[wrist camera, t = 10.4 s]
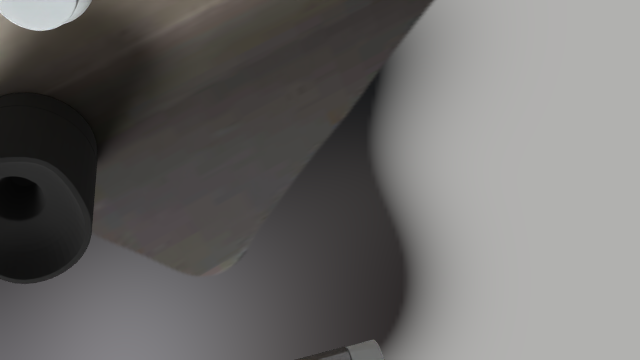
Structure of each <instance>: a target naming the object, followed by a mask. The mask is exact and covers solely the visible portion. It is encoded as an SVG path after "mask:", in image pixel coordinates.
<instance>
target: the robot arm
mask: <svg viewBox="0 0 640 360" xmlns="http://www.w3.org/2000/svg"><path fill="white" fill-rule="evenodd" d="M297 360H385V359H384V357H383V355H382V352H381V350H380V347H379V345H378V344H377V343H376V342H375V340H371V341H367V342H363V343H360V344H356V345H352V346H348V347H346V348H345V347H341V348H337V349H333V350H330V351H326V352H322V353H319V354H315V355H312V356H307V357H304V358H300V359H297Z"/></svg>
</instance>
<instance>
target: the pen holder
mask: <svg viewBox="0 0 640 360" xmlns="http://www.w3.org/2000/svg"><path fill="white" fill-rule="evenodd" d="M96 168H97V145H96V140H95V137H94V134H93V132H92V130H91V128H90V126H89V125H88V123H87V122H86V121H85V119H84V118H83V117H82V116H81V115H80V114H79V113H78V112H77V111H75V110H74V109H73V108H71V107H70V106H68V105H66V104H65V103H63V102H61V101H59V100H57V99H54V98H51V97H48V96H44V95H40V94H33V93H16V94H9V95H5V96H1V97H0V279H2V280H5V281H8V282H12V283H20V284H29V283H37V282H41V281H45V280H48V279H51V278H53V277H56V276H58V275H60V274H62V273H63V272H65V271H66V270H68V269H69V268H71V267H72V266H73V265H74V264H75V263H77V262H78V260H79V259H80V258H81V257H82V256H83V254H84V252H85V251H86V249H87V247H88V245H89V242H90V238H91V233H92V221H93V208H94V196H95V183H96Z"/></svg>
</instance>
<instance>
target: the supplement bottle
mask: <svg viewBox="0 0 640 360" xmlns="http://www.w3.org/2000/svg"><path fill="white" fill-rule="evenodd" d="M91 1H92V0H0V13H1V14H2V15H3V16H4V17H5V18H7V19H8V20H10V21H11V22H13V23H14V24H16V25H18V26H20V27H23V28H26V29H30V30H36V31H44V30H51V29H54V28H57V27H59V26H61V25H62V24H65V23H68V22H71V21H73V20H74V19H76V18H78V17H79V16H80V15H82V14H83V13H84V12H85V10H86V9H87V8H88V7H89V5H90V3H91Z"/></svg>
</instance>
